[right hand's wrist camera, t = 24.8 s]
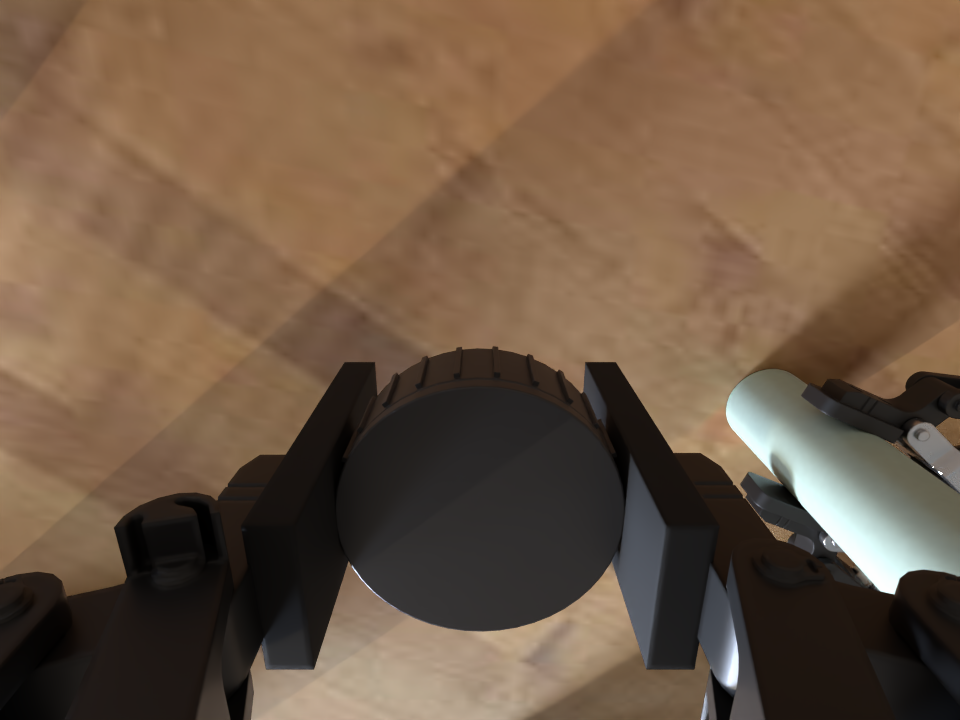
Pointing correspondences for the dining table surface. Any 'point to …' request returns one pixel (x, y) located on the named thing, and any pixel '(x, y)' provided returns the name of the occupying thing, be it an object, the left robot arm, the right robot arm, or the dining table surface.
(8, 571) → the dining table surface
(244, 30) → the dining table surface
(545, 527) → the lid
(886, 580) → the bottle
